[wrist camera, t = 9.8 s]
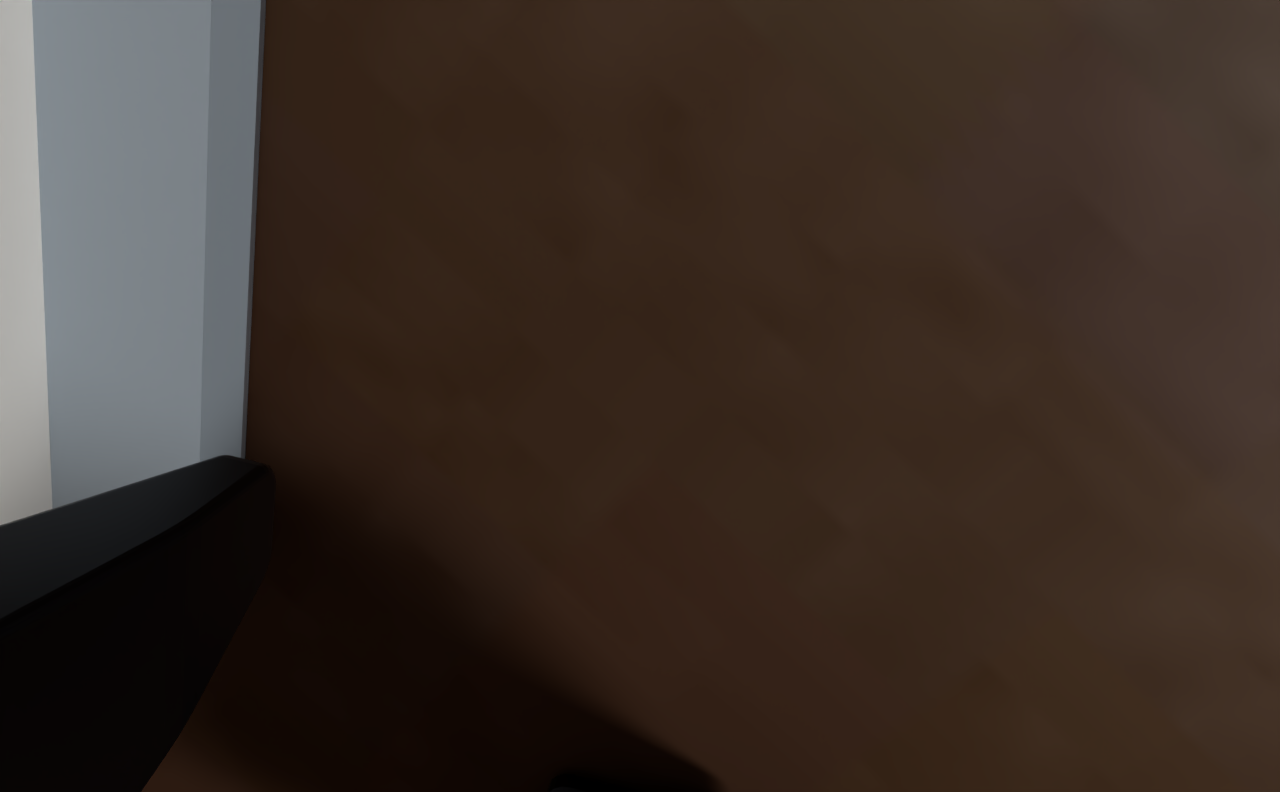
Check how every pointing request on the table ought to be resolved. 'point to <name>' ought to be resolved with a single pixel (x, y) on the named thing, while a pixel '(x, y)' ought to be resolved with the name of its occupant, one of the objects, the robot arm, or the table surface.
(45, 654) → the robot arm
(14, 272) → the power strip
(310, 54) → the table surface
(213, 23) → the keyhole board
